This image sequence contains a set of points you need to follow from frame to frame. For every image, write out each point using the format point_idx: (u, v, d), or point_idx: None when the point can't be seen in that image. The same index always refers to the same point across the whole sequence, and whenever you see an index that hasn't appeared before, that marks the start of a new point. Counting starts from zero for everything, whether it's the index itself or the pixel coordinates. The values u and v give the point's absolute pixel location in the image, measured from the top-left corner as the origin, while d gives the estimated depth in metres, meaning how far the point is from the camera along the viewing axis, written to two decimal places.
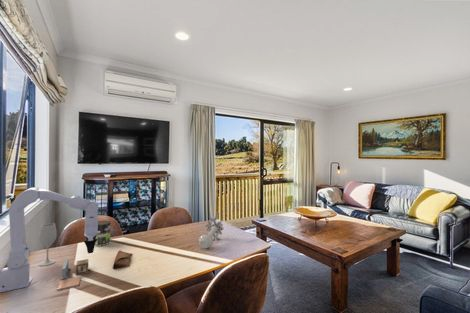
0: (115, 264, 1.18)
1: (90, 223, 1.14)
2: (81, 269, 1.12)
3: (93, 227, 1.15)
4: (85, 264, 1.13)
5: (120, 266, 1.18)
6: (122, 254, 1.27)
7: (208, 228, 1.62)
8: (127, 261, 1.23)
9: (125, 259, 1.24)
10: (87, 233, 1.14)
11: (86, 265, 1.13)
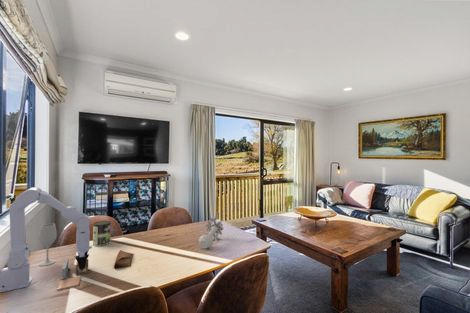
0: (116, 264, 1.18)
1: (81, 238, 1.12)
2: (81, 269, 1.12)
3: (85, 242, 1.13)
4: None
5: (121, 266, 1.19)
6: (123, 254, 1.28)
7: (208, 228, 1.62)
8: (128, 261, 1.23)
9: (126, 259, 1.24)
10: (78, 249, 1.12)
11: (86, 265, 1.13)
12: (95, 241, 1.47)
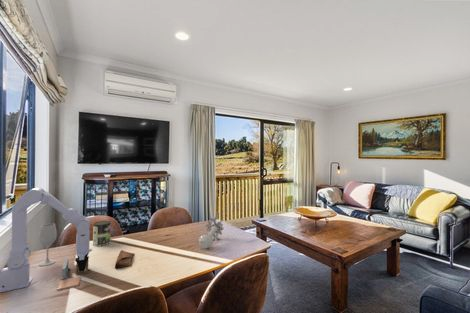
0: (117, 264, 1.18)
1: (81, 241, 1.12)
2: None
3: (84, 245, 1.13)
4: None
5: (122, 266, 1.19)
6: (124, 254, 1.28)
7: (208, 228, 1.62)
8: (129, 261, 1.23)
9: (127, 259, 1.24)
10: (78, 251, 1.12)
11: (86, 265, 1.13)
12: (95, 241, 1.47)
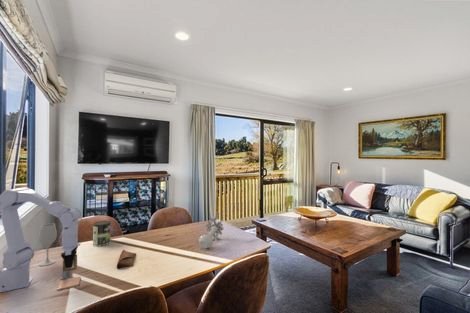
0: (119, 264, 1.18)
1: (65, 235, 1.01)
2: None
3: (72, 239, 1.02)
4: (74, 260, 1.02)
5: (124, 266, 1.19)
6: (126, 254, 1.28)
7: (208, 228, 1.62)
8: (131, 261, 1.23)
9: (129, 259, 1.24)
10: (65, 246, 1.01)
11: (74, 261, 1.02)
12: (95, 241, 1.47)
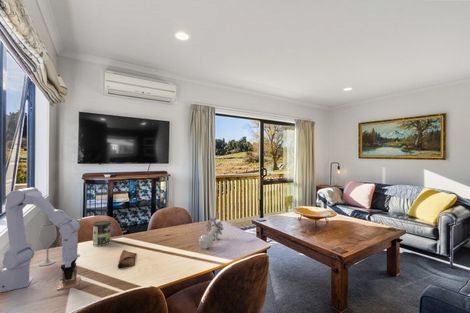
0: (120, 263, 1.18)
1: (64, 246, 1.01)
2: None
3: (72, 251, 1.02)
4: (73, 272, 1.02)
5: (125, 265, 1.19)
6: (127, 254, 1.28)
7: (208, 228, 1.62)
8: (132, 260, 1.24)
9: (130, 258, 1.25)
10: (64, 258, 1.00)
11: (74, 273, 1.02)
12: (95, 241, 1.47)
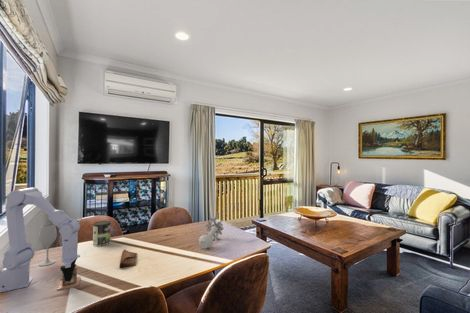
0: (122, 263, 1.18)
1: (64, 247, 1.01)
2: None
3: (72, 251, 1.02)
4: (73, 274, 1.02)
5: (126, 265, 1.19)
6: (127, 254, 1.28)
7: (208, 228, 1.62)
8: (133, 260, 1.24)
9: (131, 258, 1.25)
10: (64, 258, 1.00)
11: (74, 275, 1.02)
12: (95, 241, 1.47)
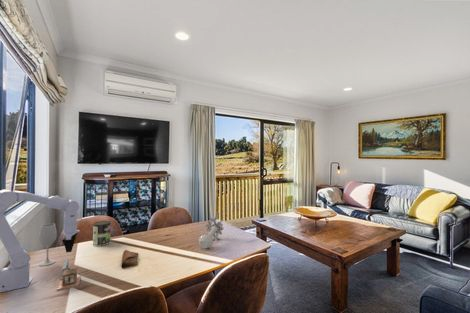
0: (123, 263, 1.19)
1: (71, 222, 1.15)
2: (68, 280, 1.01)
3: (72, 226, 1.15)
4: (73, 274, 1.02)
5: (128, 265, 1.20)
6: (129, 253, 1.28)
7: (208, 228, 1.62)
8: (135, 260, 1.24)
9: (132, 258, 1.25)
10: (66, 232, 1.14)
11: (74, 275, 1.02)
12: (95, 241, 1.47)
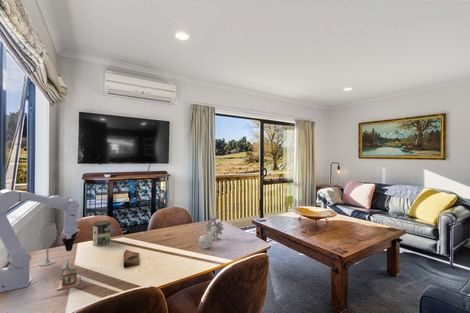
0: (125, 263, 1.19)
1: (71, 221, 1.16)
2: (68, 280, 1.01)
3: (72, 225, 1.16)
4: (73, 274, 1.02)
5: (130, 265, 1.20)
6: (130, 253, 1.29)
7: (208, 228, 1.62)
8: (136, 260, 1.25)
9: (134, 258, 1.26)
10: (66, 231, 1.15)
11: (74, 275, 1.02)
12: (95, 241, 1.47)
